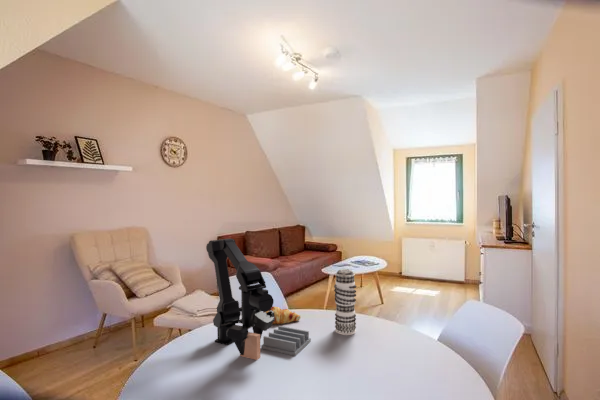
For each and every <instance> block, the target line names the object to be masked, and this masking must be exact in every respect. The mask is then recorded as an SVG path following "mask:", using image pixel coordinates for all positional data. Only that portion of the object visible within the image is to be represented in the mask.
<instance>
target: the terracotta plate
mask: <svg viewBox="0 0 600 400" xmlns="http://www.w3.org/2000/svg"><path fill="white" fill-rule="evenodd" d="M247 336H248V338H247V339H246V340H245V351H244V355H241V354H240V353H239V354H240V355H239V356H240V357H244V358H248V359H252V360H255V361H259V359H261V339H260V334H256V333H253V332H250V331H248V335H247Z"/></svg>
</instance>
